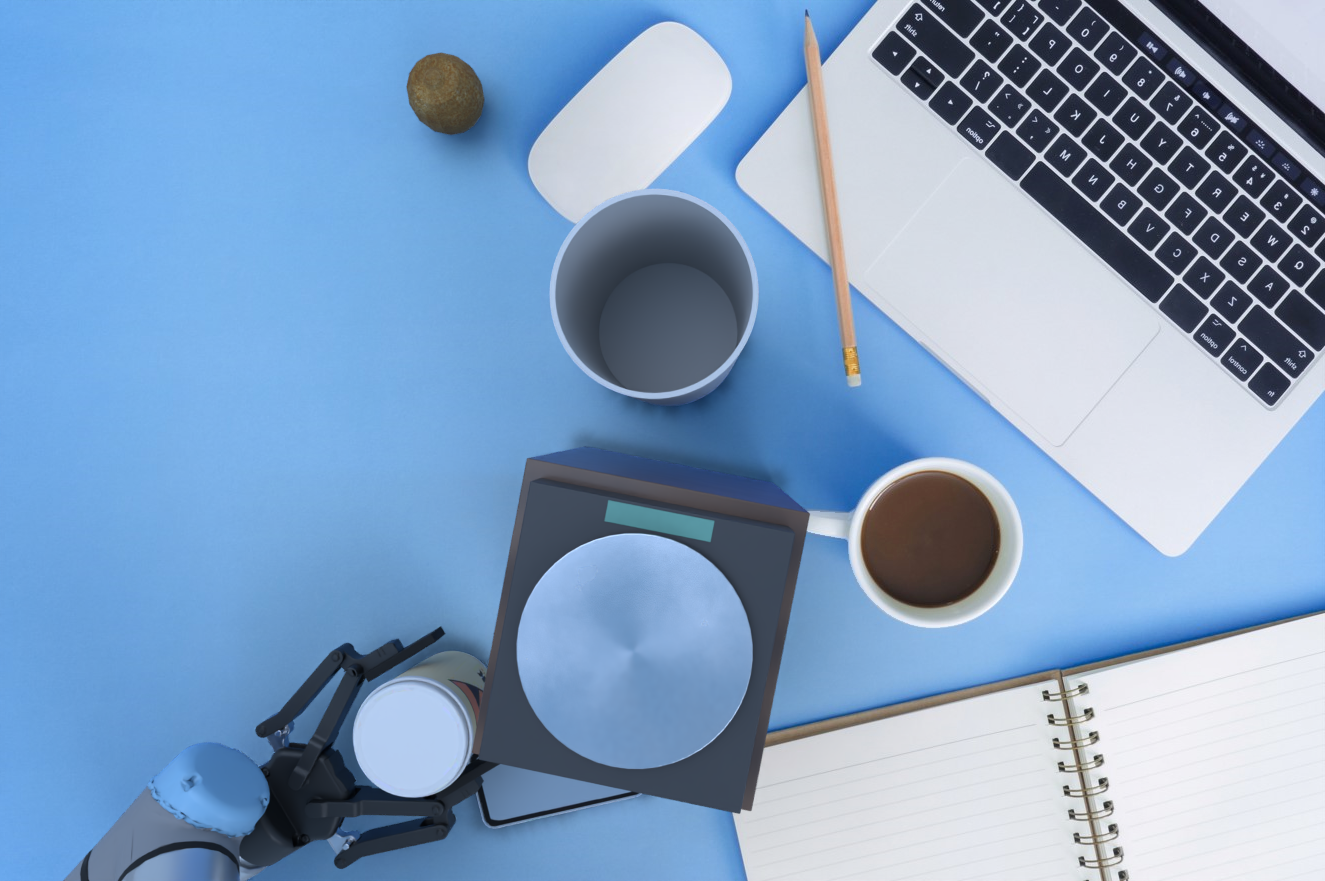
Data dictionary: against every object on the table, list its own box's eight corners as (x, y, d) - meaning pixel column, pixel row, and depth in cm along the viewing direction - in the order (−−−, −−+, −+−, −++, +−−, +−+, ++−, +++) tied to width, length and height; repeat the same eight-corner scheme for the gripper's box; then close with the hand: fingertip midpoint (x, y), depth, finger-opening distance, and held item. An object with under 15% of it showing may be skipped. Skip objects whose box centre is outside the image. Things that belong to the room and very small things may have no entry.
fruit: (505, 93, 78) (482, 55, 70) (476, 158, 78) (451, 128, 70) (441, 65, 78) (411, 24, 70) (413, 130, 78) (380, 96, 70)
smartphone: (465, 751, 78) (627, 713, 77) (467, 747, 79) (628, 710, 78) (485, 831, 78) (648, 795, 77) (487, 827, 79) (649, 791, 78)
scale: (738, 792, 52) (740, 815, 49) (490, 740, 52) (477, 760, 49) (790, 526, 51) (795, 533, 48) (539, 477, 52) (529, 481, 49)
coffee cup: (504, 745, 79) (469, 803, 67) (401, 742, 79) (348, 799, 67) (505, 642, 79) (470, 681, 67) (402, 639, 79) (349, 678, 67)
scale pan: (727, 786, 49) (728, 791, 48) (498, 739, 49) (496, 743, 48) (772, 556, 48) (773, 558, 48) (541, 511, 49) (539, 512, 48)
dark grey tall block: (734, 681, 78) (751, 811, 52) (547, 643, 78) (471, 753, 52) (773, 482, 77) (810, 513, 51) (584, 446, 78) (526, 457, 52)
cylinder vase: (755, 386, 77) (781, 369, 52) (617, 421, 78) (578, 421, 53) (720, 248, 77) (729, 165, 52) (583, 284, 78) (527, 218, 53)
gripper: (203, 693, 77) (416, 564, 76) (338, 918, 77) (553, 792, 76) (150, 722, 70) (384, 580, 68) (299, 971, 69) (537, 833, 68)
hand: (473, 691), depth 72 cm, fingers open, 10 cm apart
